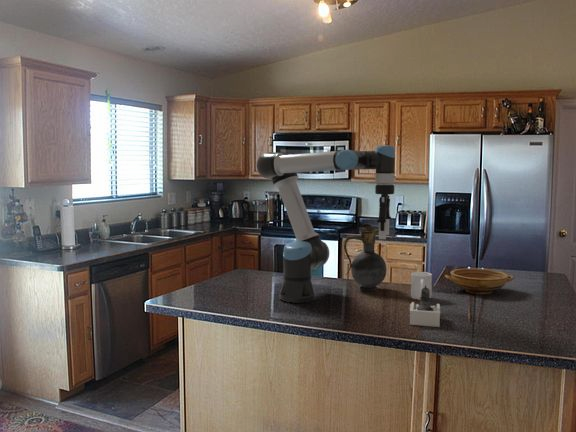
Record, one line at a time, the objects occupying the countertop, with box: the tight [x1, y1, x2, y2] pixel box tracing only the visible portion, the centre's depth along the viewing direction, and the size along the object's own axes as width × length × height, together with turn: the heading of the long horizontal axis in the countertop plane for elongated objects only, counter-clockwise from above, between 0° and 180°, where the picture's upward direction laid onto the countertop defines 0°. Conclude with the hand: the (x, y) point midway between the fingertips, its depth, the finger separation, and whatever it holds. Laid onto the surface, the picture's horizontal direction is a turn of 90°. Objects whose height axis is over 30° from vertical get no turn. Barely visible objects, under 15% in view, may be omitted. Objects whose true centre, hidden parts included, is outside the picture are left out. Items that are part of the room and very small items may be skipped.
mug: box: [410, 271, 433, 301], centre depth 217 cm, size 12×8×10 cm
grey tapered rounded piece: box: [417, 286, 434, 311], centre depth 187 cm, size 6×6×12 cm
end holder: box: [409, 301, 441, 328], centre depth 186 cm, size 10×12×5 cm
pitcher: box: [343, 223, 388, 292], centre depth 233 cm, size 11×19×30 cm, turn 89°
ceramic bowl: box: [444, 267, 515, 295], centre depth 231 cm, size 30×24×8 cm
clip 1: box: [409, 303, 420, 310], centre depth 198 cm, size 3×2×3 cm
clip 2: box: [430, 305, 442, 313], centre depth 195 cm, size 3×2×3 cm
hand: (384, 236), depth 211 cm, fingers open, 13 cm apart
